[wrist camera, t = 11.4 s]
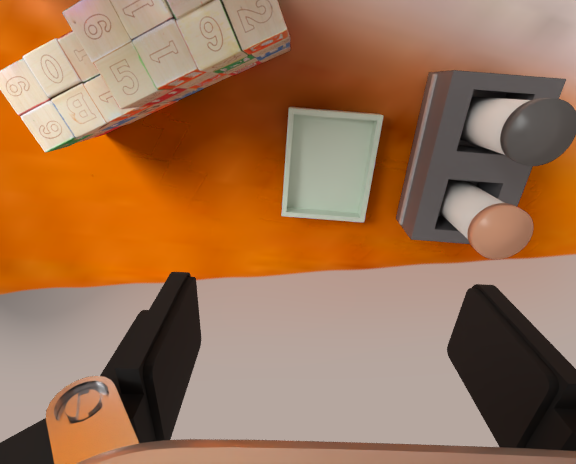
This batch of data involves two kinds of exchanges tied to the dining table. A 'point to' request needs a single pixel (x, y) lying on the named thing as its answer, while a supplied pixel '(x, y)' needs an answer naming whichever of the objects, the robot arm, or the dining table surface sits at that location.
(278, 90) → the dining table surface
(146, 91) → the stack of blocks
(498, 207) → the plug
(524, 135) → the grey capped white peg
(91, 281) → the dining table surface
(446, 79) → the socket strip
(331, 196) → the tray
